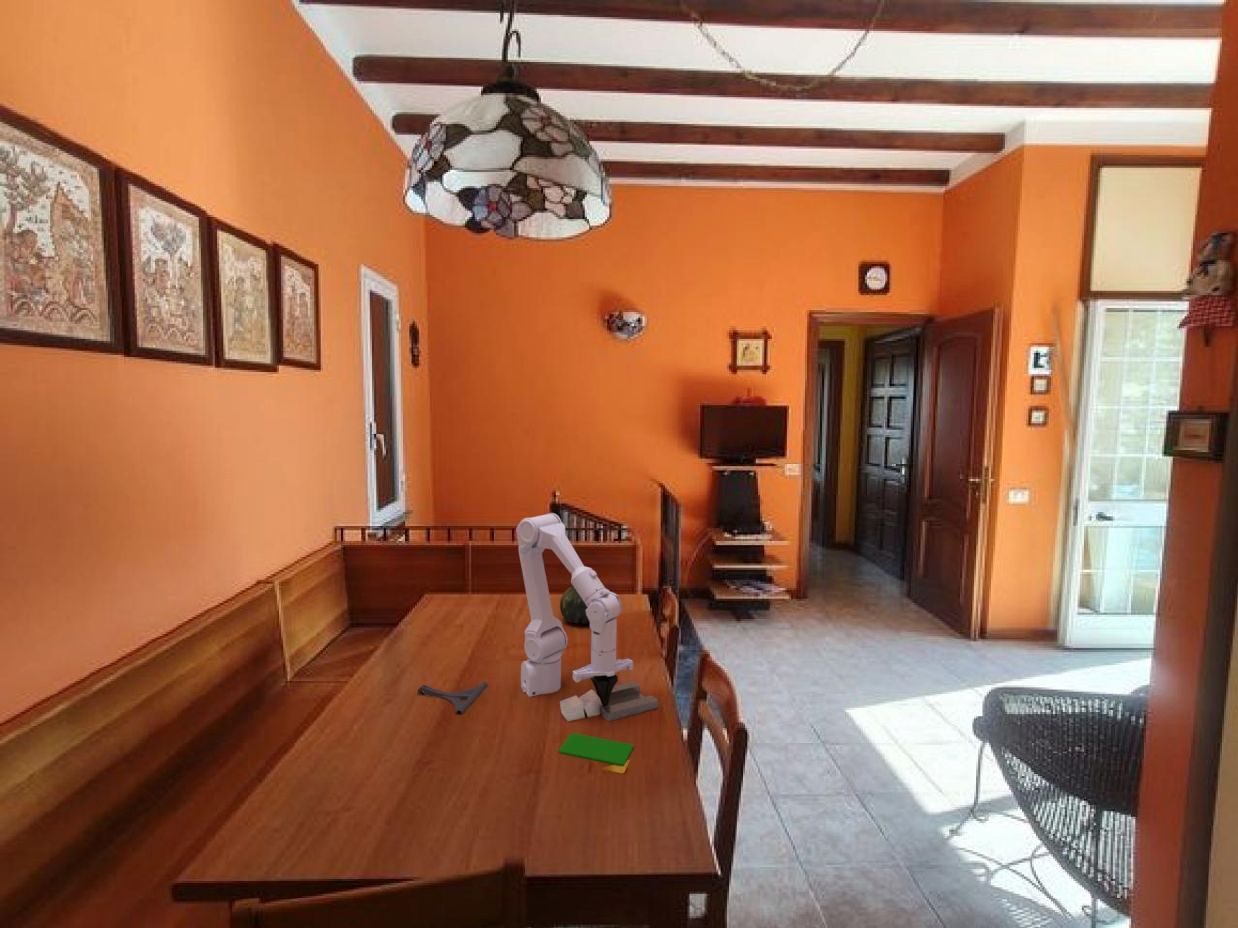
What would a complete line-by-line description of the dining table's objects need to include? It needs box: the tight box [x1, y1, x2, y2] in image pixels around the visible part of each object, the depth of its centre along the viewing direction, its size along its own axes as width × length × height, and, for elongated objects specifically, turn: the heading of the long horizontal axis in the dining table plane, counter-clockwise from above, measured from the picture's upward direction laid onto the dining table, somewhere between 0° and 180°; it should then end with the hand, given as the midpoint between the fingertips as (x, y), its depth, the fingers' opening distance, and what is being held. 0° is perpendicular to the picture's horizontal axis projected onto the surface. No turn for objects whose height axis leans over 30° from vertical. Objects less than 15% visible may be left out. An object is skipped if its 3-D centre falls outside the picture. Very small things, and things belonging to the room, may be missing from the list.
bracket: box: [416, 681, 488, 715], centre depth 145 cm, size 14×15×3 cm
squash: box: [559, 585, 590, 625], centre depth 196 cm, size 14×15×15 cm
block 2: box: [578, 689, 603, 718], centre depth 136 cm, size 4×4×4 cm
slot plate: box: [585, 680, 659, 722], centre depth 140 cm, size 13×11×3 cm
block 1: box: [559, 695, 586, 722], centre depth 134 cm, size 4×4×4 cm
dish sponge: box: [558, 732, 635, 774], centre depth 121 cm, size 7×14×2 cm, turn 72°
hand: (603, 704), depth 137 cm, fingers closed
